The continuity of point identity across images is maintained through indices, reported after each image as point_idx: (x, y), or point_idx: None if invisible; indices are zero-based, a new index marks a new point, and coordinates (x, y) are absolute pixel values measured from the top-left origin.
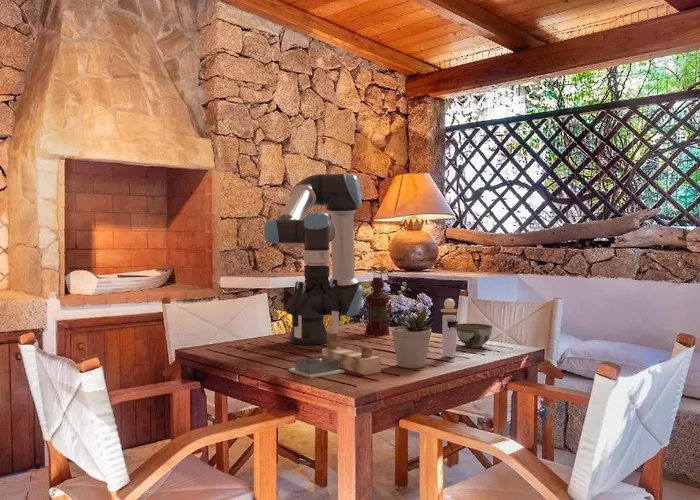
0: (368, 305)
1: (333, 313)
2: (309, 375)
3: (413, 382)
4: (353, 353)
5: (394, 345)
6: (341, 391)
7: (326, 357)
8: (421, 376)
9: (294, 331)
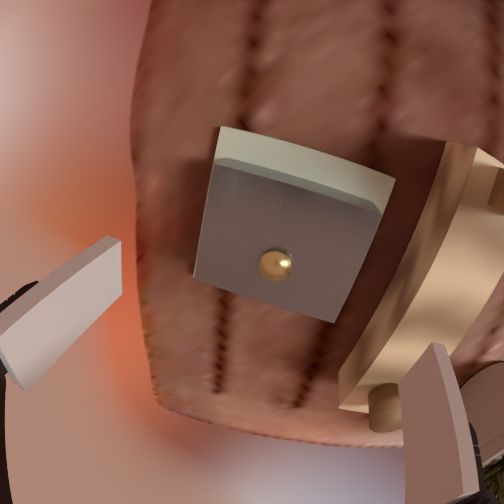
0: None
1: (437, 488)
2: (194, 269)
3: (321, 444)
4: (433, 337)
5: (495, 409)
6: (164, 382)
7: (356, 256)
8: (381, 438)
9: (81, 254)
